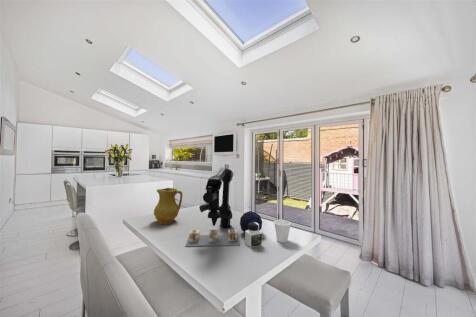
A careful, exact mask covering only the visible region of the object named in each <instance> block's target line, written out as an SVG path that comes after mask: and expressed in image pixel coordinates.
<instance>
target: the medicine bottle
mask: <svg viewBox="0 0 476 317" xmlns="http://www.w3.org/2000/svg"><path fill="white" fill-rule="evenodd" d="M244 243H245V244H246V245H247V246H248V247H249V248H257V247H260V246H263V233H262V232H261V231H259V224H258V223H256V222H251V223H249V224H248V230H246V231H245V233H244Z"/></svg>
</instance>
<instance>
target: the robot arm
mask: <svg viewBox="0 0 476 317" xmlns="http://www.w3.org/2000/svg"><path fill="white" fill-rule="evenodd" d="M233 178H234V173H233V170H231V169H229V168H228V167H226V166H225V167H224V166H223V167H222V166H220V168H219V170H218V171H217V173H216V174H215V175H212V176H210V177H209V178H208V179H207V182H206V185H205V188H204V189H205V193H203V195H202V200H203V202H205V203H203V204H201V205H199V211H200V213H203V212H205V211H208V212H207V219H211V222H212V226H213V227H215V226H216V223H217V221H218V219H220V221H219V227H221V228H222V229H227V228H228V229H229V228H231V227H233V226H232V225H231V219H233V212H232V210H231V208H232V207H231V205H230V203H229V201H230V187H231V186H230V184H231V181H232V180H233ZM221 188H222V199H221V200H222V201H221V205H220V190H221Z"/></svg>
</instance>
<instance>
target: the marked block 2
mask: <svg viewBox="0 0 476 317" xmlns="http://www.w3.org/2000/svg"><path fill="white" fill-rule="evenodd" d="M227 235H228V241H237V235H238V232H237V229H236V228H235V229H233V228H232V229H231V228H230V229H229V228H228V230H227Z"/></svg>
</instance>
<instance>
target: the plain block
mask: <svg viewBox="0 0 476 317" xmlns="http://www.w3.org/2000/svg"><path fill="white" fill-rule="evenodd" d="M208 231H209V232H208V235H209V242H218V235H219V229H209V230H208Z"/></svg>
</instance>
